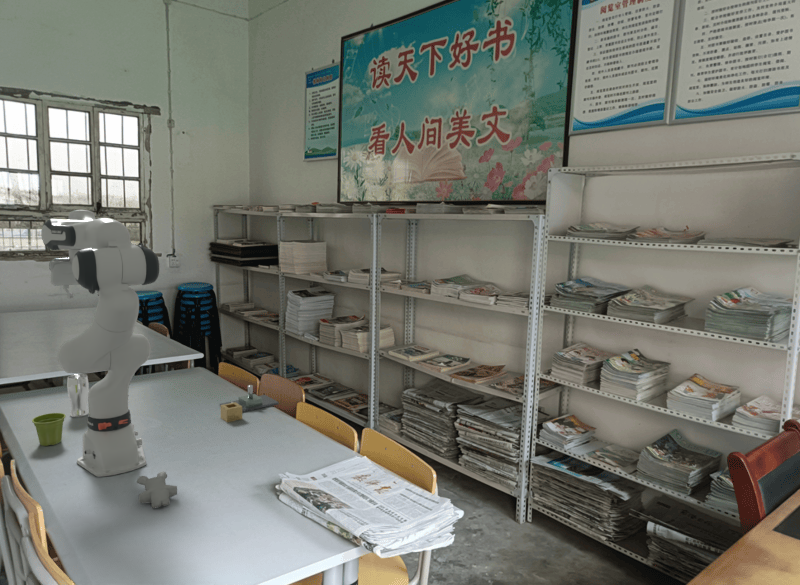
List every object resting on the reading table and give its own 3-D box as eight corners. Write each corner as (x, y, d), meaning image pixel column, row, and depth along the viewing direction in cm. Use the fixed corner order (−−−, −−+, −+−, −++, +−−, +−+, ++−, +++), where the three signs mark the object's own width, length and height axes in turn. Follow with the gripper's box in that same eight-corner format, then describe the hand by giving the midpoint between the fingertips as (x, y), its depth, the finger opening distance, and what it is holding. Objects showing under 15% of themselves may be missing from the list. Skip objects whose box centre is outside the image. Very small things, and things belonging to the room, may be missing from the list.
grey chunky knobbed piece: (141, 500, 142) (132, 471, 154) (142, 518, 143) (133, 487, 155) (180, 491, 147) (169, 463, 159) (180, 508, 148) (169, 479, 160)
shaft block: (278, 404, 229) (278, 384, 228) (232, 414, 216) (231, 393, 215) (265, 397, 238) (264, 377, 237) (219, 406, 225) (219, 385, 224)
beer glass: (83, 417, 208) (81, 379, 206) (64, 417, 208) (62, 378, 206) (93, 411, 215) (91, 374, 213) (75, 411, 215) (73, 373, 213)
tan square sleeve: (242, 419, 211) (242, 406, 211) (227, 422, 207) (226, 409, 207) (235, 414, 216) (235, 402, 215) (220, 417, 212) (220, 405, 211)
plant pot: (51, 449, 180) (49, 424, 179) (26, 446, 182) (24, 421, 181) (73, 438, 189) (72, 414, 188) (49, 436, 191) (48, 411, 190)
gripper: (50, 258, 183) (53, 300, 184) (117, 257, 196) (119, 296, 198) (46, 257, 187) (49, 298, 189) (112, 256, 201) (114, 294, 203)
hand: (85, 297), depth 194 cm, fingers open, 8 cm apart
